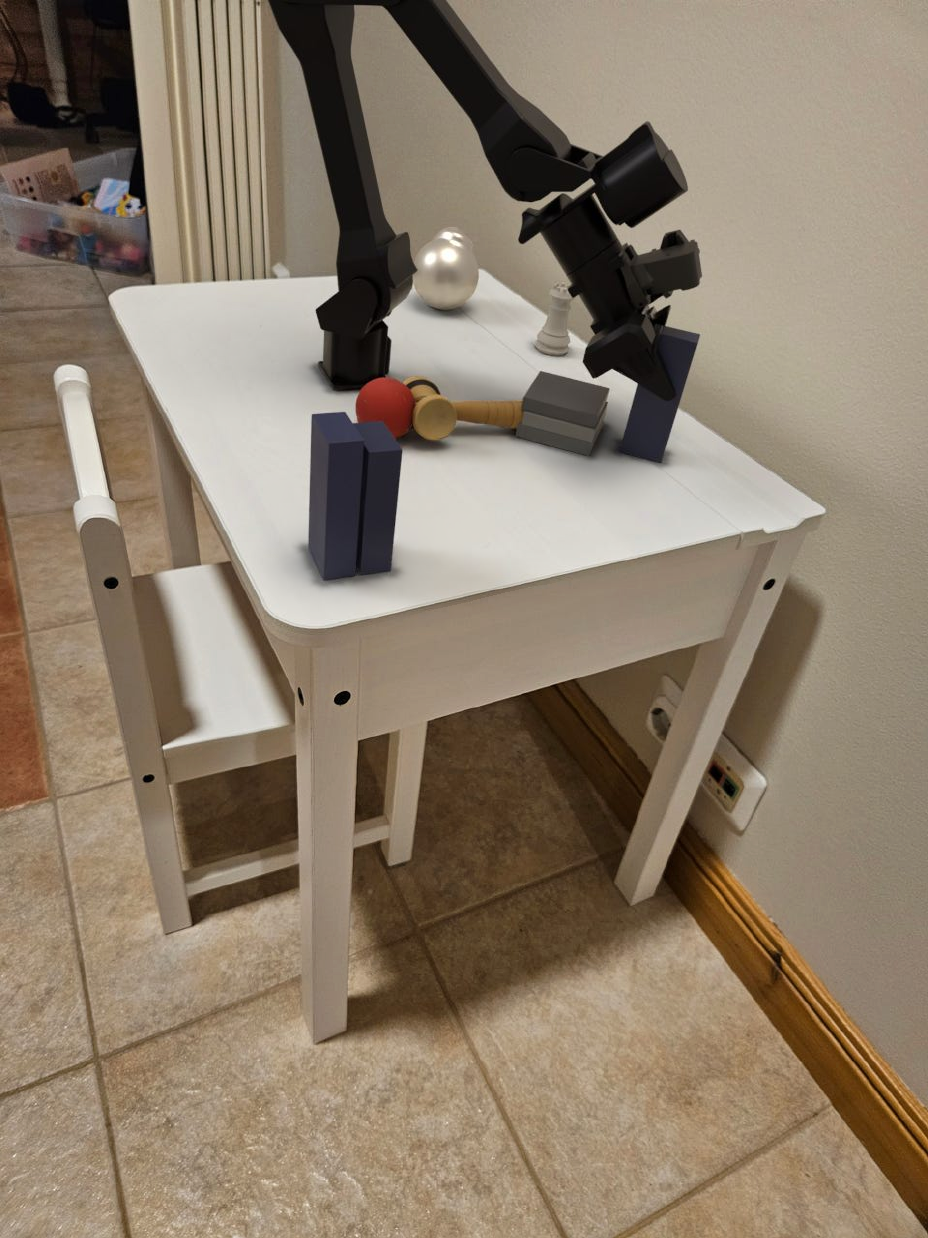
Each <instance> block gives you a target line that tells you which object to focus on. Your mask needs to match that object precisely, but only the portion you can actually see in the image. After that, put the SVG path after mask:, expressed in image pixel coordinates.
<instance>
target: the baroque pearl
mask: <svg viewBox="0 0 928 1238" xmlns="http://www.w3.org/2000/svg"><path fill="white" fill-rule="evenodd" d="M413 263H414V265H415V266H416V268H417V272H416V273H414V274H413V275H412V276H413V287H414V290H415V292H416V294H417V295H418V297H419V298H420V299H421V300H422V301H423V302H424V303H425V304H427V305H428V306H429V307H432V308H434V309H438V310H443V311H445V310H446V311H447V310H448V311H450V310H455V309H457V308H459V307H460V308H461V307H462V306H463V305H465V304H466V303H467V302H469V300H470V299H471V298H472V296H473V295H474V293H475V291H476V289H477V287H478V284H479V278H480V273H479V272H480V271H479V270H480V269H479V264H478V262H477V258H476V257H475V255H474V244H473V242H472V241H471V239H470V238H468V237H467V236H466V235H465V234H464V233H463V231H461V230H460V229H459V227H457V226H448V227H444V228H442V229H440V230H439V231H438V232H437V234H435V236H434V237H433V239H432V240H431V241H429V242H428V243H426V244H425V245H423V246H422V248H421V249H420V250H419V251H418V252H417V254H416V255H415V258H414V259H413Z"/></svg>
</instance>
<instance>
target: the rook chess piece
mask: <svg viewBox="0 0 928 1238" xmlns="http://www.w3.org/2000/svg"><path fill="white" fill-rule="evenodd" d="M565 285H566V283H565V282H560V283H559V282H555V283H554V284H553V286H552V288H551V290H549V295H550V297H551V301H550V303H548V306H549V310H548V315H547V317H546V320H545V323H544V325H543V326H542V327H541V330H539V332H537V334H536V338H537V339H536V341H535V342H534V344H535V347H536V349H537V350H538V351H539V352H541V353H543V354H545V355H549V356H556V357H557V356H563V355H566V354H567V353H568V351H569V350H570V346H569V345H570V344H571V338H570V335H569V333H570V332H569V330H568V321H569V313H570V311H571V309H572V307H571V306H572V305H571V303H572V301H573V300H574V299H576V297H574V298H572V296H571V295H570V293H569V292H568V290H567V289H568V287H569V286H570V285H571V284H569V283H568V284H567V286H565Z"/></svg>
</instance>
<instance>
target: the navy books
mask: <svg viewBox="0 0 928 1238" xmlns="http://www.w3.org/2000/svg"><path fill="white" fill-rule="evenodd" d="M310 421H311V423H310V424H311V425H310V428H311V429H310V460H309V461H310V462H309V463H310V465H309V469H310V470H309V498H308V499H309V500H308V501H309V502H308V503H309V504H308V536H307V537H308V539H307V541H308V543H307V548H308V551H309V553H310V555H311V557H312V559H313V561H314V563H315V565H316V567H317V569H318V571H319V574H320V575H321V578H322V580H323V581H328V580H336V579H341V578H348V577H349V578H350V577H355V576H356V569H357V571H358V574H359V576H365V575H371V574H372V575H373V574H379V573H384V572H386V573H387V572H391V571H392V563H393V553H394V552H393V551H394V543H395V533H396V524H397V523H396V521H397V512H398V511H397V510H398V503H399V493H400V492H399V491H400V481H401V471H402V461H403V449H404V448H402V446H401V445H400V444H399V442H398V441H397V438H396V439H395V438H394V437H393V435H392V434H391V432H390V431H389V429H388V428H387V427H386V425H385V424H384V422H383V421H377V422H363V423H358V422H353V421H352V420H351V418H350V417H349V415H348V413H347V412H346V411H335V412H321V413H312V414H311V420H310Z"/></svg>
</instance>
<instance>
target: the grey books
mask: <svg viewBox="0 0 928 1238" xmlns="http://www.w3.org/2000/svg"><path fill="white" fill-rule="evenodd" d="M610 389H611V388H610V387H607V386H603V385H599V384H594V383H591V382H586V381H583V380H578V379H574V378H571V377H566V376H563V375H559V374H556V373H555V374H554V373H551V372H547V371H543V370H540V371H539V372H538V373H537V375H536V377H535V378H534V380H533V381H532V383H531V384H530V386H529V387H528V389H527V390H526V392H525V393H524V395H523V397H522V400H521V401H522V406H521V410H523V411H524V413H523V419H522V423H518V425H517V429H515V431H516V432H515V437H516V438H520V439H524V440H528V441H531V442H535V443H538V444H543V445H546V446H550V447H554V448H556V449H557V448H558V449H560V450H565V451H569V452H571V453H577V454H580V455H584V456H588V457H589V456H590V455H591V453H592V450H593V448H594V446H595V444H596V441H597V439H598V437H599V434H600V433H601V431H602V429H603V426H604V422H605V418H606V414H607V411H608V410H607V409H608V405H609V401H608V398H609V394H610Z"/></svg>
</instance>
